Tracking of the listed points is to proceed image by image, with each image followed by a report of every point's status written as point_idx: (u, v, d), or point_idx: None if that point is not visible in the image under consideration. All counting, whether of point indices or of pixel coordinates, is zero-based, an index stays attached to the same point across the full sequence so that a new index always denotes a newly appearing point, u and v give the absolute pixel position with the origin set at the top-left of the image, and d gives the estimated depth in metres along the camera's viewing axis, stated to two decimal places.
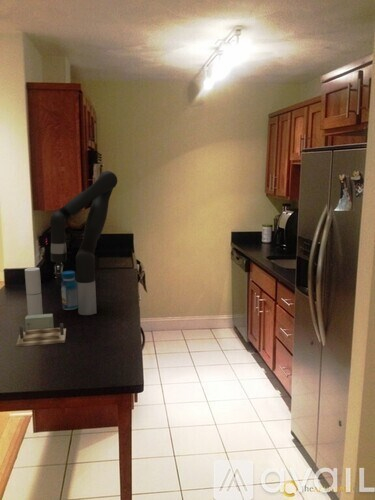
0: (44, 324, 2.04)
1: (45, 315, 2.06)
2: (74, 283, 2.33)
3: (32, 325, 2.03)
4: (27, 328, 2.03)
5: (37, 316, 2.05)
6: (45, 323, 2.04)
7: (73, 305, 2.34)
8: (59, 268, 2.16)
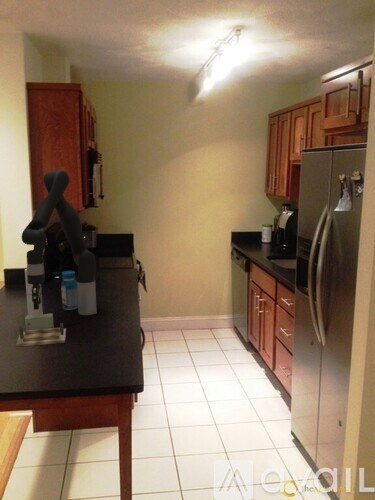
0: (44, 324, 2.04)
1: (45, 315, 2.06)
2: (74, 283, 2.33)
3: (32, 325, 2.03)
4: (27, 328, 2.03)
5: (37, 316, 2.05)
6: (45, 323, 2.04)
7: (73, 305, 2.34)
8: (36, 291, 1.96)
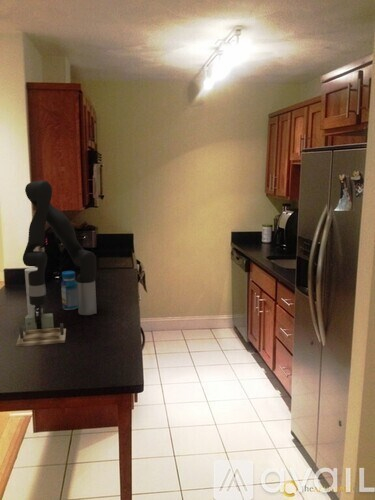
0: (44, 323, 2.04)
1: (45, 315, 2.06)
2: (74, 283, 2.33)
3: (32, 324, 2.03)
4: (27, 328, 2.03)
5: None
6: (45, 323, 2.04)
7: (73, 305, 2.34)
8: (38, 315, 1.98)
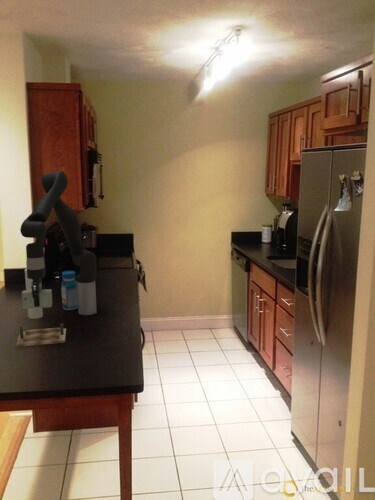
0: (41, 299, 1.91)
1: (43, 290, 1.93)
2: (74, 283, 2.33)
3: (29, 300, 1.90)
4: (24, 303, 1.90)
5: None
6: (43, 298, 1.91)
7: (73, 305, 2.34)
8: (36, 289, 1.86)
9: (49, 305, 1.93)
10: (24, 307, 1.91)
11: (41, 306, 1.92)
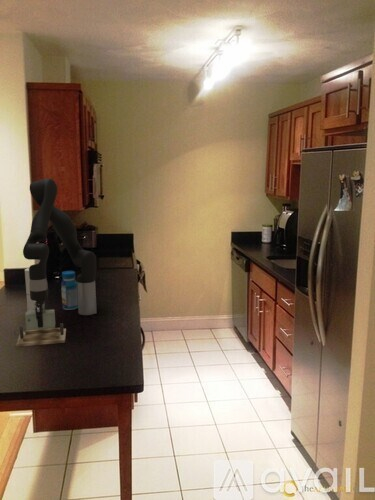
0: (45, 320, 1.93)
1: (46, 311, 1.95)
2: (74, 283, 2.33)
3: (33, 321, 1.92)
4: (27, 324, 1.91)
5: None
6: (46, 319, 1.93)
7: (73, 305, 2.34)
8: (39, 310, 1.87)
9: (52, 325, 1.94)
10: (28, 328, 1.92)
11: (44, 327, 1.93)
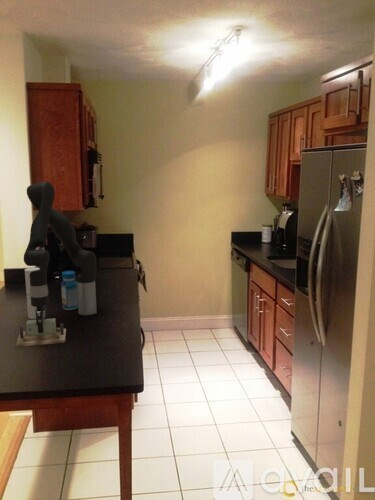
0: (46, 329, 1.94)
1: (47, 320, 1.96)
2: (74, 283, 2.33)
3: (34, 330, 1.92)
4: (28, 334, 1.92)
5: (39, 321, 1.94)
6: (47, 328, 1.94)
7: (73, 305, 2.34)
8: (40, 314, 1.87)
9: (53, 334, 1.95)
10: None
11: None
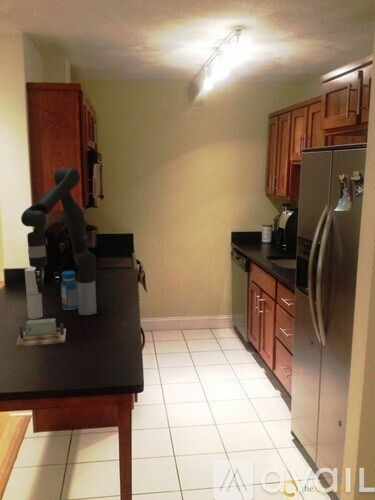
0: (46, 329, 1.94)
1: (47, 320, 1.96)
2: (74, 283, 2.33)
3: (34, 330, 1.92)
4: (28, 334, 1.92)
5: (39, 321, 1.94)
6: (47, 328, 1.94)
7: (73, 305, 2.34)
8: (39, 274, 1.91)
9: (53, 334, 1.95)
10: None
11: None
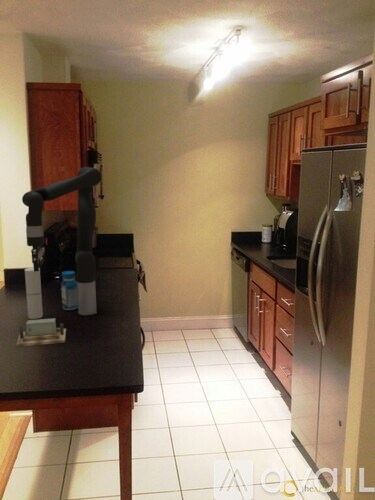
0: (46, 329, 1.94)
1: (47, 320, 1.96)
2: (74, 283, 2.33)
3: (34, 330, 1.92)
4: (28, 334, 1.92)
5: (39, 321, 1.94)
6: (47, 328, 1.94)
7: (73, 305, 2.34)
8: (35, 252, 1.98)
9: (53, 334, 1.95)
10: None
11: None
